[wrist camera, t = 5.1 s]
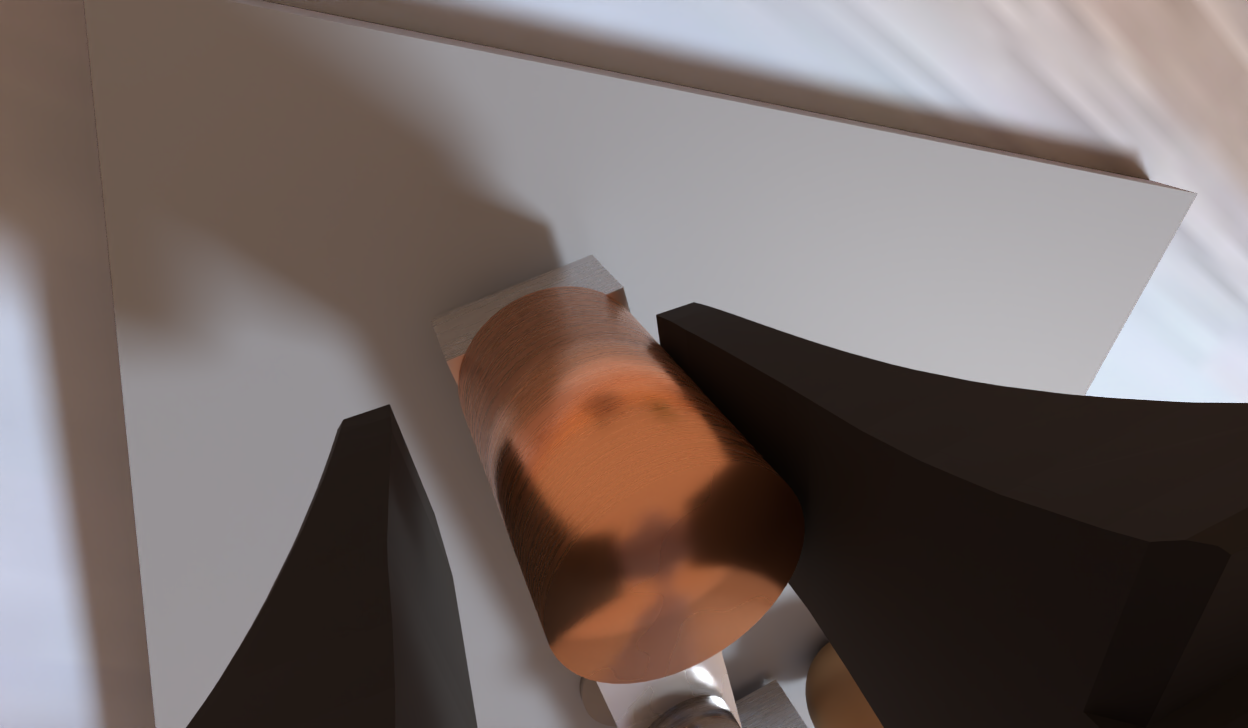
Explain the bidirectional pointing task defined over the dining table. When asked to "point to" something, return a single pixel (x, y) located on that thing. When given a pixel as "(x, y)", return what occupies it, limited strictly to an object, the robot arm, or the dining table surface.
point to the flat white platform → (504, 257)
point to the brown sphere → (836, 695)
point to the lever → (624, 498)
